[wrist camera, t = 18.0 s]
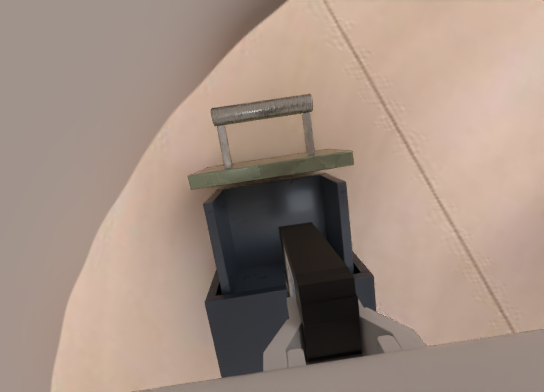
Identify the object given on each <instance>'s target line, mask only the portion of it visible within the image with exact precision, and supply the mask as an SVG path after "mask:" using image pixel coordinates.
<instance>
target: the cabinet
mask: <svg viewBox="0 0 544 392" xmlns="http://www.w3.org/2000/svg"><path fill="white" fill-rule="evenodd" d="M352 255H353V266H354V274H352V275H353V277H354V280H355V288H356V295H357V297H358V299H359V301H360V302H361V304H362V306H363V307H364V308H366V307H367V308H369V309H371V310H373V311H375V312H376V301H375V288H374V276H373V275H372V273H371V272H370V271H369V270H368V269H367V267H366V266H365V265H364V264H363V263H362V262H361V260H360V259H359V258H358V257H357V256H356V255H355V253H354V252H353V251H352ZM287 297H288V295H287V288H286V285H281V286H275V287H269V288H262V289H256V290H249V291H243V292H237V293H230V294H224V295H222V291H221V287H220V282H219V277H218V272H217V270H216V272H215V275H214V278H213V281H212V283H211V286H210V289H209V292H208V295H207V298H206V300H205V306H206V311H207V315H208V320H209V324H210V328H211V333H212V337H213V342H214V346H215V350H216V355H217V359H218V364H219V368H220V372H221V377H222V378H225V377H231V376H238V375H244V374H251V373H257V372H263V353H264V351H265V350H266V348H267V347H268V345H269V344H270V343H271V341H272V340H273V338H274V337H275V336H276V334H277V333H278V331H279V330H280V328H281V327H282V326H283V324H284V323H285V321H286V320H287V319H289V312H288V305H287Z"/></svg>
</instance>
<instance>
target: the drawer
mask: <svg viewBox="0 0 544 392" xmlns="http://www.w3.org/2000/svg"><path fill="white" fill-rule="evenodd" d="M312 110H313V100H312V96H311V94H305V95H298V96H291V97H284V98H278V99H271V100H264V101H258V102H251V103H244V104H238V105H231V106H224V107H218V108H212V109H211V116H212V120H213V124H214V126H217V129H218V135H219V140H220V146H221V151H222V156H223V162H224V165H220V166H213V167H207V168H205V169H202V170H200V171H198V172H195V173H193V174H190V175H188V180H189V184H190V189H191V190H194V189H200V188H207V187H213V186H220V185H227V184H233V183H240V182H246V181H253V180H259V179H266V178H272V177H279V176H285V175H292V174H299V173H305V172H312V171H318V170H325V169H331V168H338V167H344V166H351V165H354V161H353V151H352V150H337V149H325V150H318V151H315V150H314V141H313V132H312V123H311V114H310V112H312ZM301 113H303V114H302V118H303V126H304V135H305V143H306V152H305V153H299V154H292V155H286V156H279V157H272V158H266V159H259V160H253V161H246V162H239V163H233V164H232V161H231V156H230V150H229V144H228V139H227V133H226V128H225V125H228V124H235V123H241V122H248V121H255V120H261V119H268V118H274V117H281V116H288V115H294V114H301ZM203 206H204V210H205V215H206V220H207V225H208V229H209V234H210V239H211V244H212V248H213V253H214V258H215V263H216V268H217V272H218V277H219V282H220V287H221V291H222V295H224V294H230V293H237V292H243V291H249V290H256V289H262V288H269V287H275V286H281V285H286V281H285V273H284V271H285V263H284V256H283V255H282V251H281V243H280V236H279V228H278V227H281V226H288V225H295V224H302V223H309V222H313V224H314V225H315V227H316V228H317V229H318V230H319V232H320V233H321V234H322V235H323V237H324V238H325V239H326V240H327V242H328V243H329V244H330V245H331V247H332V248H333V249H334V250H335V252H336V253H337V254H338V255H339V257H340V258H341V259H342V260H343V262H344V263H345V264H346V265H347V267H348V269H349V271H350V273H351V274H354V266H353V255H352V244H351V232H350V221H349V210H348V199H347V187H346V182H345V181H342V180H340V179H338V178H336V177H333V176H331V175H329V174H327V173H322V174H316V175H309V176H303V177H296V178H290V179H283V180H277V181H270V182H263V183H257V184H250V185H244V186H237V187H231V188H224V189H218V190H217V191H216V192H215V193H214V194H213V195H212V196H211V197H210V198H209V199H208V200H207V201H206V202H205V203H204V204H203Z"/></svg>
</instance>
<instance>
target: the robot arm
mask: <svg viewBox="0 0 544 392" xmlns="http://www.w3.org/2000/svg"><path fill="white" fill-rule="evenodd" d="M358 304H359V315H360V318H359V325H360V339H361V352H362V354H363V356H362V357H356V358H349V359H343V360H336V361H329V362H323V363H316V364H310V365H306V363H307V359H306V351H305V343H304V335H303V327H302V321H301V317H300V313H299V309H298V306H297V302H296V298H295V296H293V297H287V305H288V312H289V319H287V320H286V321H285V323H284V324H283V326H282V327H281V328H280V330H279V331H278V333H277V334H276V336H275V337H274V338H273V340H272V341H271V343H270V344H269V345H268V347H267V348H266V350H265V351H264V353H263V372H257V373H251V374H244V375H238V376H231V377H225V378H218V379H211V380H205V381H198V382H192V383H185V384H179V385H172V386H166V387H159V388H152V389H146V390H139V391H133V392H544V329H539V330H533V331H526V332H520V333H513V334H506V335H500V336H493V337H487V338H480V339H473V340H467V341H460V342H454V343H447V344H441V345H434V346H428V347H427V345H426V344H425V343H424V342H423V340H422V339H421V338H420V337H419V336H418V334H417V333H416V332H415V331H414V330H413V329H411V328H408V327H406V326H404V325H402V324H400V323H398V322H396V321H394V320H392V319H390V318H388V317H386V316H384V315H382V314H380V313H377V312H375V311H373V310H371V309H369V308H367V307H366V308H364V307H363V306H362V304H361V302H360V301H359V299H358Z"/></svg>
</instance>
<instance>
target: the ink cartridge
mask: <svg viewBox="0 0 544 392" xmlns="http://www.w3.org/2000/svg"><path fill="white" fill-rule="evenodd" d="M278 228H279V236H280V243H281V251H282V255H283V256H284V263H285V271H284V273H285V281H286V288H287V295H288V297H293V296H295V298H296V302H297V306H298V309H299V313H300V317H301V321H302V327H303V335H304V343H305V351H306V359H307V363H306V365H310V364H316V363H323V362H329V361H336V360H343V359H349V358H356V357H362V356H363V354H362V352H361V339H360V325H359V318H360V315H359V304H358V297H357V295H356V288H355V280H354V277H353V275H352V274H351V273H350V271H349V269H348V267H347V265H346V264H345V263H344V262H343V260H342V259H341V258H340V257H339V255H338V254H337V253H336V252H335V250H334V249H333V248H332V247H331V245H330V244H329V243H328V242H327V240H326V239H325V238H324V237H323V235H322V234H321V233H320V232H319V230H318V229H317V228H316V227H315V225H314V224H313V222H309V223H302V224H295V225H288V226H281V227H278Z"/></svg>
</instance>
